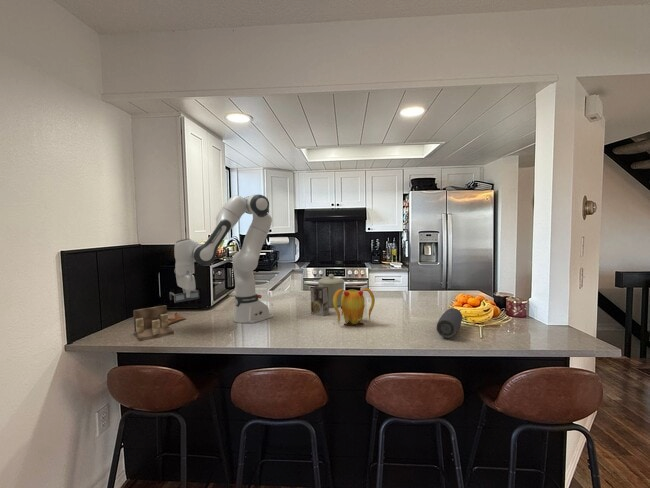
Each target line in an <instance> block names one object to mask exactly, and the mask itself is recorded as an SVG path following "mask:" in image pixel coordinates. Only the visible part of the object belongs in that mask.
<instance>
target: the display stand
mask: <svg viewBox="0 0 650 488" xmlns="http://www.w3.org/2000/svg"><path fill="white" fill-rule="evenodd" d="M167 308H168V305H167V304H166V305H159V306H153V307H145V308H139V309H134V310H133V328H134V330H133V331H134V335H135V337H136V339H139V340H138V341H139V342H143V341H147V340H151V339H156V338H161V337H165V336H170V335H174V334H175V332H174V329H172V327H170V325H169V326H168V316H169V314H168V309H167Z"/></svg>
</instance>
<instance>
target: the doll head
mask: <svg viewBox="0 0 650 488" xmlns="http://www.w3.org/2000/svg"><path fill="white" fill-rule="evenodd" d="M342 291H343V294H342V297H341V305H340V309H341V311H340V310H339V306H337V300H338V296H339V294H340V292H342ZM364 291H366V292H368V294H369V295H370V298H371V303H370V304H371V305H370V307H369V309H368V318H369V321H371V314H372V312H373V309H374V306H375V302H376V301H375V300H376V299H375V295H374V293H373V291H372V290H371V289H370V288H368V287H366V288H363V289H362V290H357V289H352V288H351V289H348V290H344V288H343V289H339V290H337V291H336V292H335V294H334V297H333V305H334V307H333V308H334V310H335V312H336V314H337V323H338V324H340V321H341V316H343V318H344V323H343V326H344V327H349V328H350V327H351V328H353V327H362V326H364V322H363V319H364V318H363V317H364V310H365V307H366V306H365V297H364ZM340 312H341V313H340Z"/></svg>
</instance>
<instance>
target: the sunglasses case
mask: <svg viewBox="0 0 650 488" xmlns="http://www.w3.org/2000/svg"><path fill="white" fill-rule="evenodd" d="M185 320H187V318H186V317H184V316H182V315H180V314H179V313H178V312H174V313H172V314H168V326H169V327H170V326H171V325H174V324H176V323H179V322H181V321H182V322H183V321H185Z"/></svg>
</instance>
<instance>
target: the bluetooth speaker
mask: <svg viewBox="0 0 650 488" xmlns="http://www.w3.org/2000/svg"><path fill="white" fill-rule="evenodd" d="M462 322H463V314H462V312H461V311H460V310H459V308H454V307H450V308H448V309H447V310H445V311H444V313H442V314H441V316H440V318H439V319H438V321H437V322H436V331H437V333H438V335H440V336H441V337H443V338H452V337H453V336H454V335H456V333H458V330H460V327H461V324H462Z"/></svg>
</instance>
